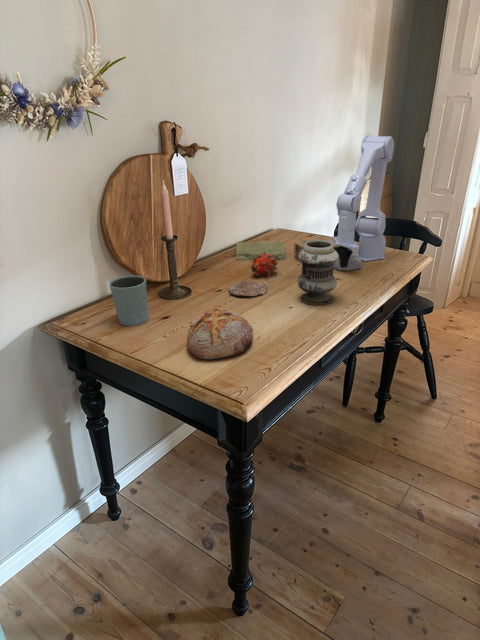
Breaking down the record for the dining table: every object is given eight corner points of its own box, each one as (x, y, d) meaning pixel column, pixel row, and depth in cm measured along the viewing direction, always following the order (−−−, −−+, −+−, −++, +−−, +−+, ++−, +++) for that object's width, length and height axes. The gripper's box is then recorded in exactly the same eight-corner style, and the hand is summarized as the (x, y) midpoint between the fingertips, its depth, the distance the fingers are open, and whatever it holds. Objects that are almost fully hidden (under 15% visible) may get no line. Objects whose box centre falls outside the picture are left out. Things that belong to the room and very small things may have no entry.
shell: (266, 299, 150) (266, 289, 148) (226, 299, 151) (226, 289, 149) (267, 286, 160) (267, 276, 158) (230, 286, 161) (230, 276, 160)
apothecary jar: (314, 310, 140) (316, 251, 133) (289, 297, 149) (289, 242, 142) (344, 300, 146) (347, 243, 138) (317, 289, 155) (320, 235, 148)
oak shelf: (338, 251, 191) (339, 235, 188) (354, 259, 181) (355, 243, 179) (293, 257, 186) (294, 241, 183) (306, 266, 176) (307, 249, 173)
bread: (174, 360, 118) (168, 323, 114) (211, 327, 134) (207, 294, 130) (233, 369, 112) (229, 330, 108) (264, 333, 128) (261, 298, 124)
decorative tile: (236, 248, 201) (236, 240, 199) (283, 247, 200) (283, 239, 199) (234, 262, 184) (234, 254, 183) (286, 261, 183) (286, 253, 182)
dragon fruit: (277, 274, 174) (255, 288, 167) (262, 258, 176) (240, 271, 169) (286, 260, 167) (264, 273, 160) (270, 243, 169) (247, 256, 162)
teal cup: (155, 321, 136) (150, 282, 131) (121, 330, 132) (115, 290, 127) (143, 309, 144) (138, 272, 139) (111, 317, 140) (104, 279, 135)
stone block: (337, 275, 170) (364, 268, 170) (335, 263, 168) (362, 256, 168) (327, 266, 181) (352, 260, 181) (325, 255, 179) (351, 248, 179)
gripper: (326, 226, 168) (323, 262, 174) (347, 235, 156) (344, 274, 161) (343, 224, 170) (340, 260, 176) (365, 233, 158) (362, 272, 163)
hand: (343, 267), depth 169 cm, fingers closed, pressing on stone block
